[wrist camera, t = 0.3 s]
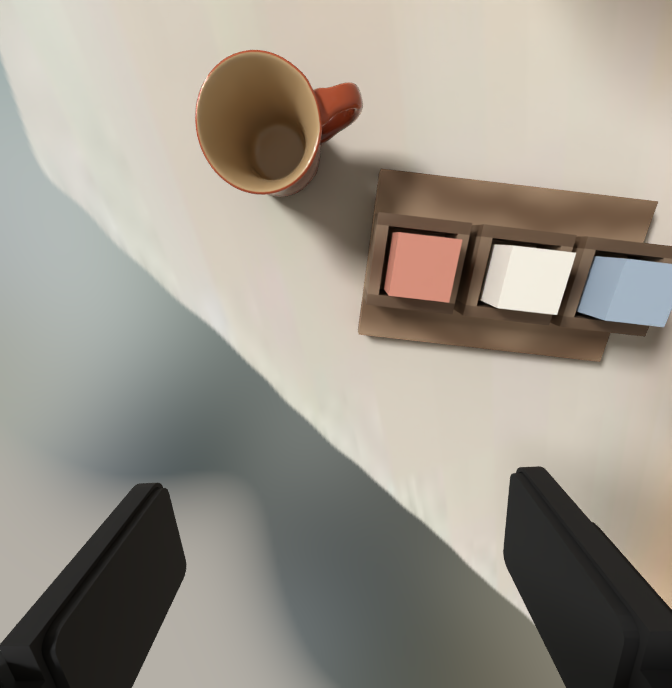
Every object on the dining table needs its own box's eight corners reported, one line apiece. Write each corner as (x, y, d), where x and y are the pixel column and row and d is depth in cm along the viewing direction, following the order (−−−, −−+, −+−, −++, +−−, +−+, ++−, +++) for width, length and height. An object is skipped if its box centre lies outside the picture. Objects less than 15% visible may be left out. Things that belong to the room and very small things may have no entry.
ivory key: (492, 244, 31) (513, 245, 27) (547, 250, 31) (576, 252, 27) (479, 299, 32) (497, 308, 29) (532, 305, 32) (556, 314, 29)
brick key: (392, 232, 31) (398, 232, 27) (447, 239, 31) (462, 239, 27) (383, 288, 32) (388, 295, 28) (436, 294, 32) (449, 302, 28)
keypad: (379, 172, 34) (386, 159, 28) (640, 203, 34) (700, 197, 28) (358, 329, 39) (360, 345, 33) (587, 355, 39) (629, 376, 33)
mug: (258, 218, 35) (225, 211, 26) (223, 125, 33) (172, 79, 23) (371, 176, 34) (382, 152, 24) (343, 76, 32) (342, 5, 22)
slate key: (591, 255, 31) (626, 258, 27) (646, 262, 31) (689, 265, 27) (574, 310, 32) (604, 320, 29) (626, 316, 32) (664, 327, 29)
